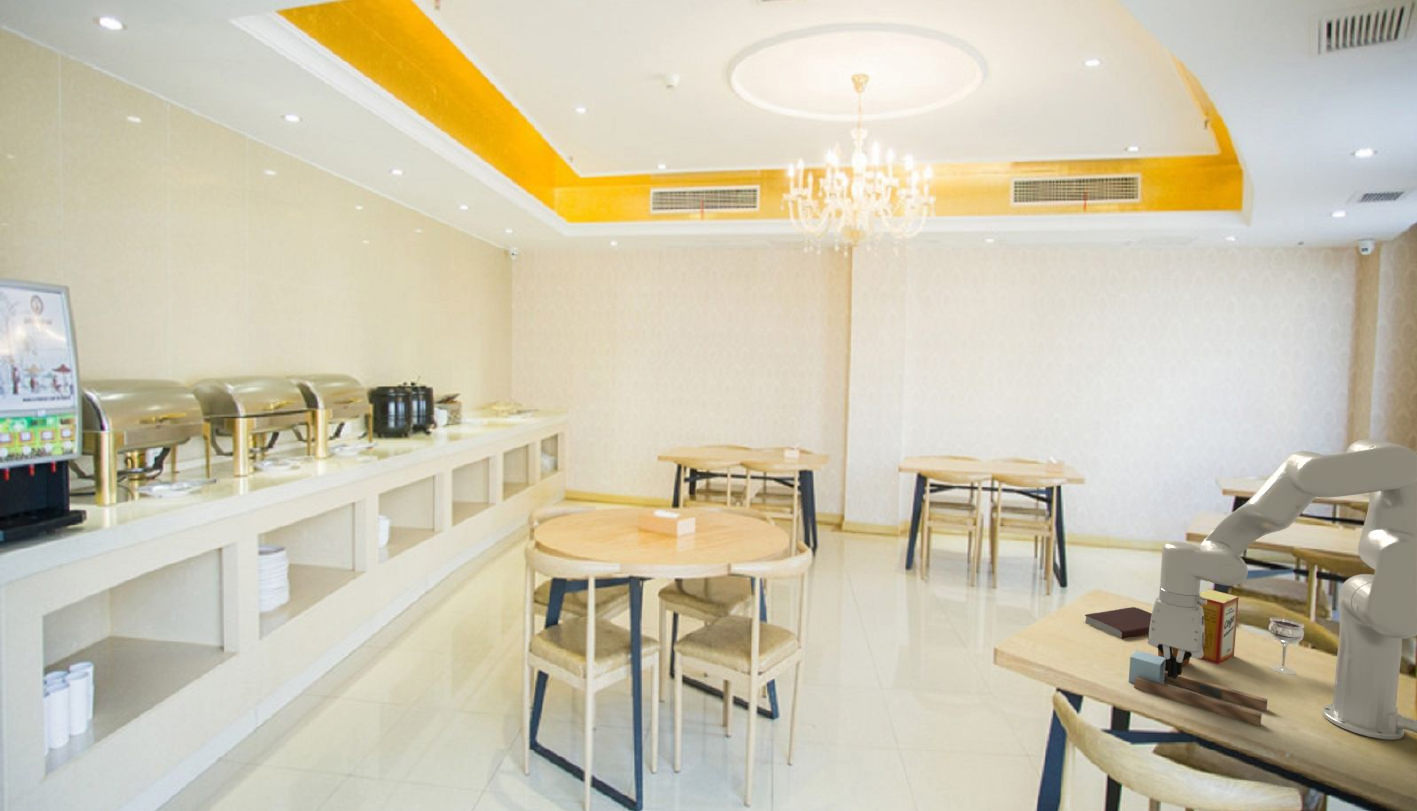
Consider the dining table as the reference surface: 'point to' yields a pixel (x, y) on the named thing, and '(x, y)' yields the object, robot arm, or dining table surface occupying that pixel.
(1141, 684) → the chute
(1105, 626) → the book
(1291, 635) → the wineglass
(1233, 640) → the baking soda box
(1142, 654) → the block
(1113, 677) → the dining table surface
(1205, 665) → the dining table surface
